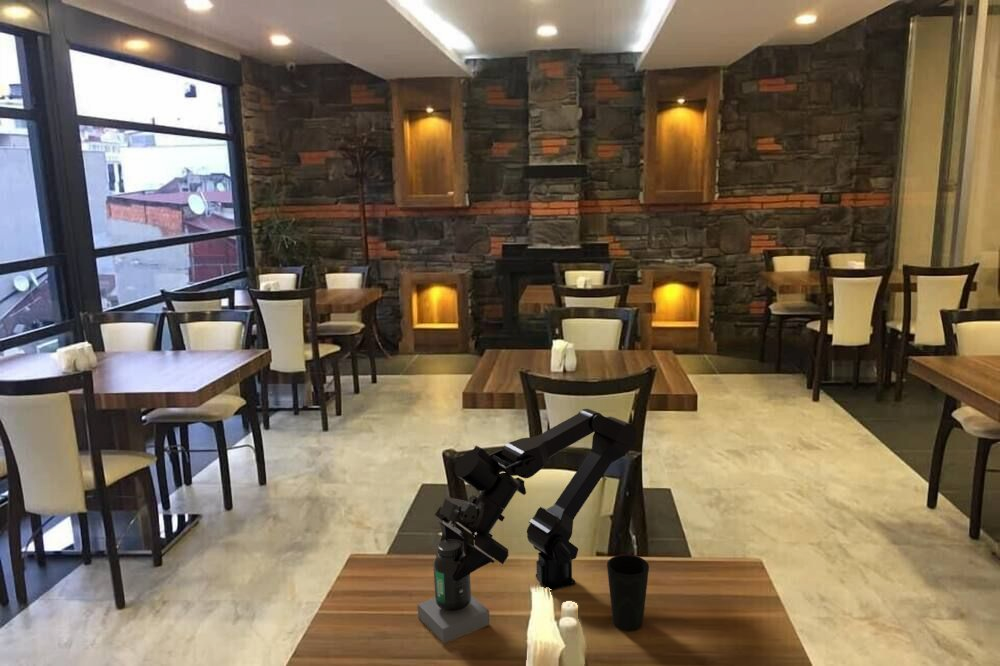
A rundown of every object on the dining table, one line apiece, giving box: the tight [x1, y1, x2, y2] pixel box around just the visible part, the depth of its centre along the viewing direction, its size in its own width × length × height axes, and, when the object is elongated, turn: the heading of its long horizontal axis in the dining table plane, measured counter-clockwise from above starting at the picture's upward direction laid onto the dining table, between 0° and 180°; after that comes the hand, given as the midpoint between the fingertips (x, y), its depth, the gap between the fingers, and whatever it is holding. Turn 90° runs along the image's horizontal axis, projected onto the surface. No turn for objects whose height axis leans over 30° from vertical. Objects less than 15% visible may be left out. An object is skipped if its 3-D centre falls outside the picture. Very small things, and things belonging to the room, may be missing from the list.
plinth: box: [417, 594, 491, 645], centre depth 143 cm, size 10×10×3 cm
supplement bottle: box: [432, 538, 472, 611], centre depth 141 cm, size 7×7×12 cm
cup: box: [606, 554, 650, 632], centre depth 139 cm, size 8×8×12 cm
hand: (445, 572), depth 140 cm, fingers closed on supplement bottle, 7 cm apart
